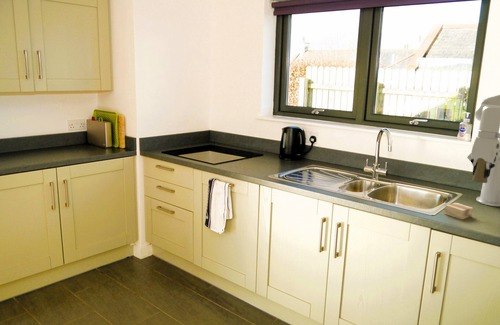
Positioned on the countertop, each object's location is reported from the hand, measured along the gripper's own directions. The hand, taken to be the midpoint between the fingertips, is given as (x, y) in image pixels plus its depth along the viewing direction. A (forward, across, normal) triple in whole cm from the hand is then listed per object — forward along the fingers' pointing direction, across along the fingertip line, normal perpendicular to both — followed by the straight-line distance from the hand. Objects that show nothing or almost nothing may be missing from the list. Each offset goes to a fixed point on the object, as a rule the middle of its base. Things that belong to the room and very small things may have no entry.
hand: (480, 175), depth 186 cm
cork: (+2, 0, 0) cm, 2 cm away
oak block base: (+17, +2, +9) cm, 20 cm away
